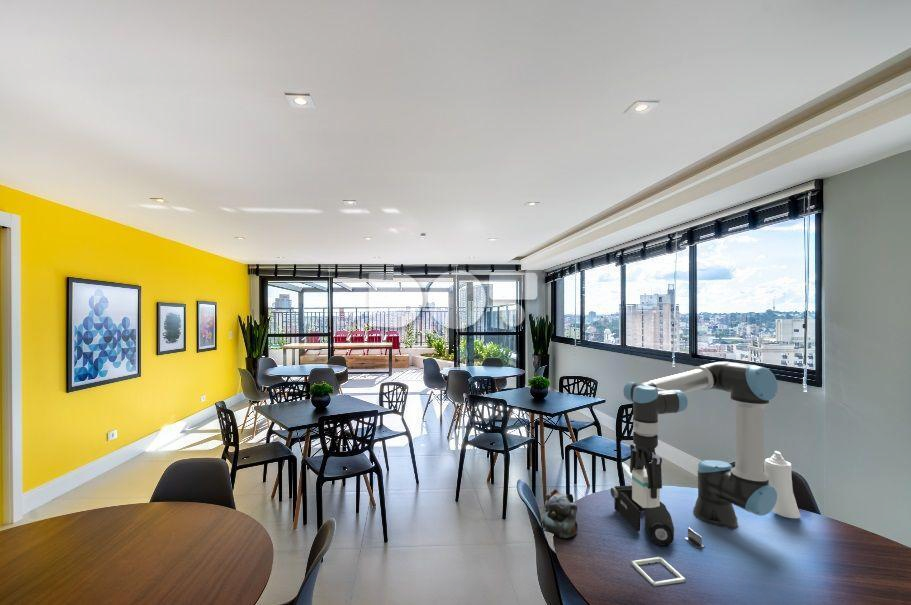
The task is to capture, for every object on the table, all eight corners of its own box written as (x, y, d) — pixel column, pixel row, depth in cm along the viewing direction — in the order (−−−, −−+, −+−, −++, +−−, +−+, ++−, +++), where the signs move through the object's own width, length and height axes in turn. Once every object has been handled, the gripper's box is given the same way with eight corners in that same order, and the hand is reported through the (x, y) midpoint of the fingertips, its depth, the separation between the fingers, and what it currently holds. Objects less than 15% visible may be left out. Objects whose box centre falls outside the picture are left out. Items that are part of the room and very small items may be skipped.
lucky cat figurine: (533, 526, 157) (535, 489, 158) (553, 517, 165) (554, 483, 165) (565, 544, 145) (566, 505, 146) (585, 534, 153) (586, 497, 153)
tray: (660, 562, 135) (660, 556, 135) (685, 584, 125) (685, 578, 125) (631, 566, 133) (631, 560, 133) (653, 590, 122) (653, 583, 122)
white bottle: (791, 522, 159) (790, 459, 159) (760, 510, 169) (759, 450, 169) (804, 514, 165) (804, 453, 165) (773, 503, 174) (773, 445, 174)
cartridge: (648, 497, 139) (647, 468, 139) (659, 506, 133) (659, 475, 133) (631, 499, 138) (631, 469, 138) (643, 508, 132) (643, 477, 132)
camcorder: (610, 507, 172) (610, 484, 172) (651, 505, 173) (651, 482, 173) (635, 534, 152) (634, 508, 152) (681, 532, 153) (681, 506, 153)
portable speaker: (679, 530, 141) (672, 505, 159) (651, 518, 144) (646, 494, 163) (672, 553, 142) (665, 525, 160) (643, 540, 145) (640, 514, 163)
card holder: (691, 537, 149) (691, 527, 149) (704, 547, 143) (704, 536, 143) (684, 538, 149) (684, 528, 149) (697, 548, 143) (697, 537, 143)
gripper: (618, 425, 144) (618, 489, 144) (653, 443, 125) (653, 517, 125) (637, 424, 145) (637, 488, 145) (675, 442, 127) (675, 515, 127)
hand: (645, 501), depth 135 cm, fingers closed on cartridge, 6 cm apart
